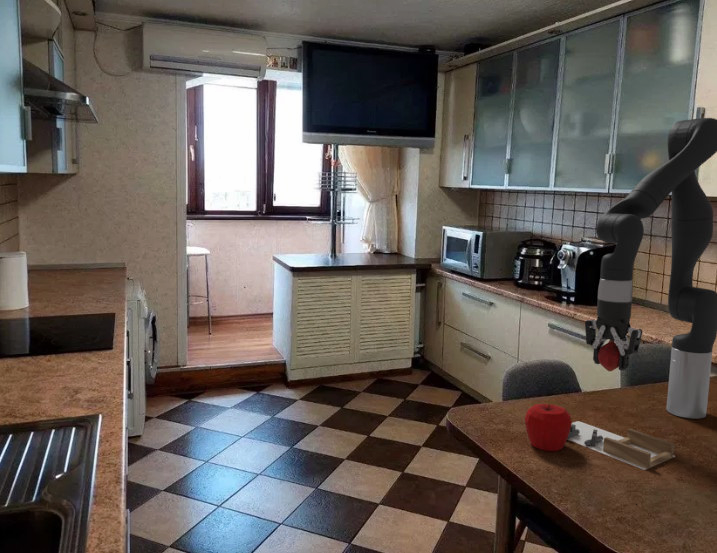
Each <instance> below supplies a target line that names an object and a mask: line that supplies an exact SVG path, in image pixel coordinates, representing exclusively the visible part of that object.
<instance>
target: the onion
mask: <svg viewBox="0 0 717 553" xmlns="http://www.w3.org/2000/svg"><path fill="white" fill-rule="evenodd" d="M619 355H621V354H620V351H619V348H618V346H616V343H615V341H612V340H610V339H609V341H608V342H607V343H604V345H603V346H602V347H601V348H600V350H599V352H598V360H599V362H600V364H599V365H601V366H602V367H603V368H604V369H605V370H606V371H608V372H613V371H614V370H616V369H619Z"/></svg>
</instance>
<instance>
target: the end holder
mask: <svg viewBox="0 0 717 553" xmlns="http://www.w3.org/2000/svg"><path fill="white" fill-rule="evenodd" d="M629 444H633V445H636V446H639V447H641V448H644V449H647V450H649V451H652V452H655V453H658V454H659V455H656V456H654V457H652V458H651V453H648V452H646V451H643V450H640V449H638V448H635V447H632V446H629ZM674 448H675V443H673V442H671V441H669V440H668V441H667V440H664V439H661V438H658V437H656V436H654V435H649V434H648V433H647V434H646V433H645V432H641V431H639V430H636V429H633V428H628V429H627V435H626V437H624V438H623V439H621V440H618V441H616V440H613V439H611V438H608V437H606V438H604V446H603V451H604V452H606V453H609V454H611V455H614V456H616V457H619V458H621V459H624V460H627V461H629V462H632V463H634V464H637V465H639V466H642V467H644V468H648V469H651V468H652V467H654V465H655V466H657V465H659V464H662V463H664V462H666V461H668V460H670V459H672V457H673V455H674V451H675V449H674ZM673 458H674V457H673ZM665 460H666V461H665ZM663 461H664V462H663ZM656 464H657V465H656Z"/></svg>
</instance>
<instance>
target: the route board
mask: <svg viewBox="0 0 717 553" xmlns="http://www.w3.org/2000/svg"><path fill="white" fill-rule="evenodd" d="M606 437H608V438H611V439H613V440H616V441H618V440H621V439H623V438H625V437H624V436H621V435H618V434H615V433H613V432H610V431H609V430H604V429H602V428H599V427H597V426H594V425H590V424H588V423H585V422H582V421H579V420H578V421H577V420H576V421H574V422H572V424H571V428H570V432H569V435H568V438H567V440H568V441H570V442H573V443H574V444H578V445H580V446H583V447H586V448H588V449H590V450H592V451H595V452H598V453H600V454H603V455H606V456H609V457H610V458H613V459H616V460H618V461H621V462H622V463H625V464H629V465H631V466H632V467H633V466H634V467H635V468H638V469H641V470H643V471H646V470H649V468H644V467H642V466H639V465H637V464H634V463H632V462H629V461H627V460H624V459H621V458H619V457H616V456H614V455H611V454H609V453H606V452H604V451H603V446H604V438H606ZM567 440H566V441H567ZM629 446H632V447H635V448H638V449H640V450H643V451H646V452H648V453H651V458H652V457H654V456H656V455H659V454H658V453H655V452H652V451H649V450H647V449H644V448H641V447H639V446H636V445H633V444H629ZM675 457H676V455H674V454H673V457H672V458H675ZM672 458H671V459H672ZM666 461H667V460H665V461H663V462H662V463H664V462H666ZM654 466H658V464H656V465H654ZM654 466H653V467H654Z"/></svg>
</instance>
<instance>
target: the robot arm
mask: <svg viewBox="0 0 717 553" xmlns="http://www.w3.org/2000/svg"><path fill="white" fill-rule="evenodd" d="M667 135H668V136H667V155H668V156H667V157H668V161H667V162H664V163H663V164H661V165H660V166H659V167H657V168H655V169H653V170H652V171H651V172H649V173H648V174H647V175H645V176H644V177H643V178H642V179H641V180H640V181H639V182H638V183H637V184H636V185H635V187H634V188H633V189H631V191H630V192H629V193H628V195H626V197H624V198H623V199H622V200H619V201H618V202H617V203H616V204H614V205H613V206H612V207H611V208H608V210H607V211H605V212H604V213H603V214H602V215H601V217H600V218H599V219H598V221H597V224H596V236H597V237H598V238H599V240H601V241H602V242H604V243H609V244H616V245H615V248H614V251H613V252H612V253H607V254H605V255H603V256H602V257H601V263H600V276H599V278H600V279H599V284H598V289H597V301H596V302H597V303H596V304H597V305H596V316H597V318H596V319H588V320H585V321H584V327H585V328H584V330H585V341H586V345H589V346H591V347H592V348H593V354H592V361H594V362H593V363H594V364H595V365H601V364H600V362H599V360H598V352H599V350H600V348H601V347H602V346H603V345H605V344H606V343H605V342H607V340H609V341H610V340H612V341H614V342H615V343H616V346H618V348H619V351H620V354H621V355H619V367H618V370H619V371H621V372H622V371H626V370H627V369H629V364H630V363H629V361H630V355H633V354H634V355H635V354H638V352H639V349H640V344H641V342H642V341H641V339H642V336H643V330H642V329H641V328H638V329H637V328H634V327H632V325H631V323H630V320H631V317H632V304H633V289H634V288H633V273H634V263H635V259H636V258H637V255H638V252H639V249H640V246H641V244H642V241H643V237H644V233H645V232H644V231H645V229H644V224H643V221H642V220H643V219H646V218H649V217H651V216H652V215H653V213H655V211H656V210H657V209H658V208H659V207H660V206H661V205H662V203H663V202H664V201H665V200H666V199H667V197H668V196H670V194H671V224H670V225H671V227H670V228H671V233H670V234H671V263H670V264H671V268H670V277H669V283H668V284H669V286H668V295H667V306H668V311H669V314H670V315H671V316H670V317H671V318H673V319H675V320H678V321H682V322H684V323H685V322H686V323H691V329H690V331H689V332H687V333H680V334H676V335H674V336H673V337H672V340H671V341H672V342H671V351H670V364H669V375H668V389H667V398H666V399H667V400H666V409H665V410H666V411H667V412H668V413H670V414H672V415H674V416H678V417H681V418H686V419H695V420H696V419H704V418H706V417H707V411H708V409H707V408H708V401H709V400H708V399H709V390H710V389H709V388H710V377H711V368H712V356H713V349H714V348H713V347H714V344H715V342H716V338H717V292H716V291H715V290H713V289H708V288H702V287H696V286H693V283H694V282H693V277H694V271H695V267H696V264H697V262H698V261H699V259H700V258H701V257H702V255H703V254H704V253H705V251H706V250H707V248H708V246H710V243H711V241H712V238H713V234H714V211H713V207H712V204H711V202H710V200H709V198H708V196H707V194H706V192H704V190H703V188H702V187H701V185H700V183H699V181H698V177H697V176H696V170H698V168H700V167H701V166H702V165H703V164H704V163H706V162H707V161H708V160H709V159H710V158H712V157H713V156H714V155H715V154H717V119H716V118H712V117H702V118H700V117H699V118H692V119H683V120H678V121H676V122H675V123H674V124H672V125H671V127H670V129H669V130H668V134H667ZM596 329H598V332H597V330H596ZM628 334H629V335H628ZM627 335H628V336H629V338H628V336H627Z"/></svg>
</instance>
